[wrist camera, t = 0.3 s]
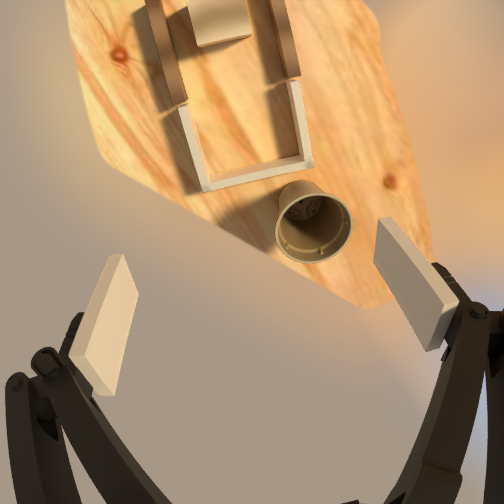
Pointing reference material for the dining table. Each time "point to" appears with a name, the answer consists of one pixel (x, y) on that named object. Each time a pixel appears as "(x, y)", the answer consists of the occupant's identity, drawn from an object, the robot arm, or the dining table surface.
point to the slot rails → (170, 59)
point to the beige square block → (218, 20)
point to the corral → (254, 170)
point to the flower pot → (311, 223)
